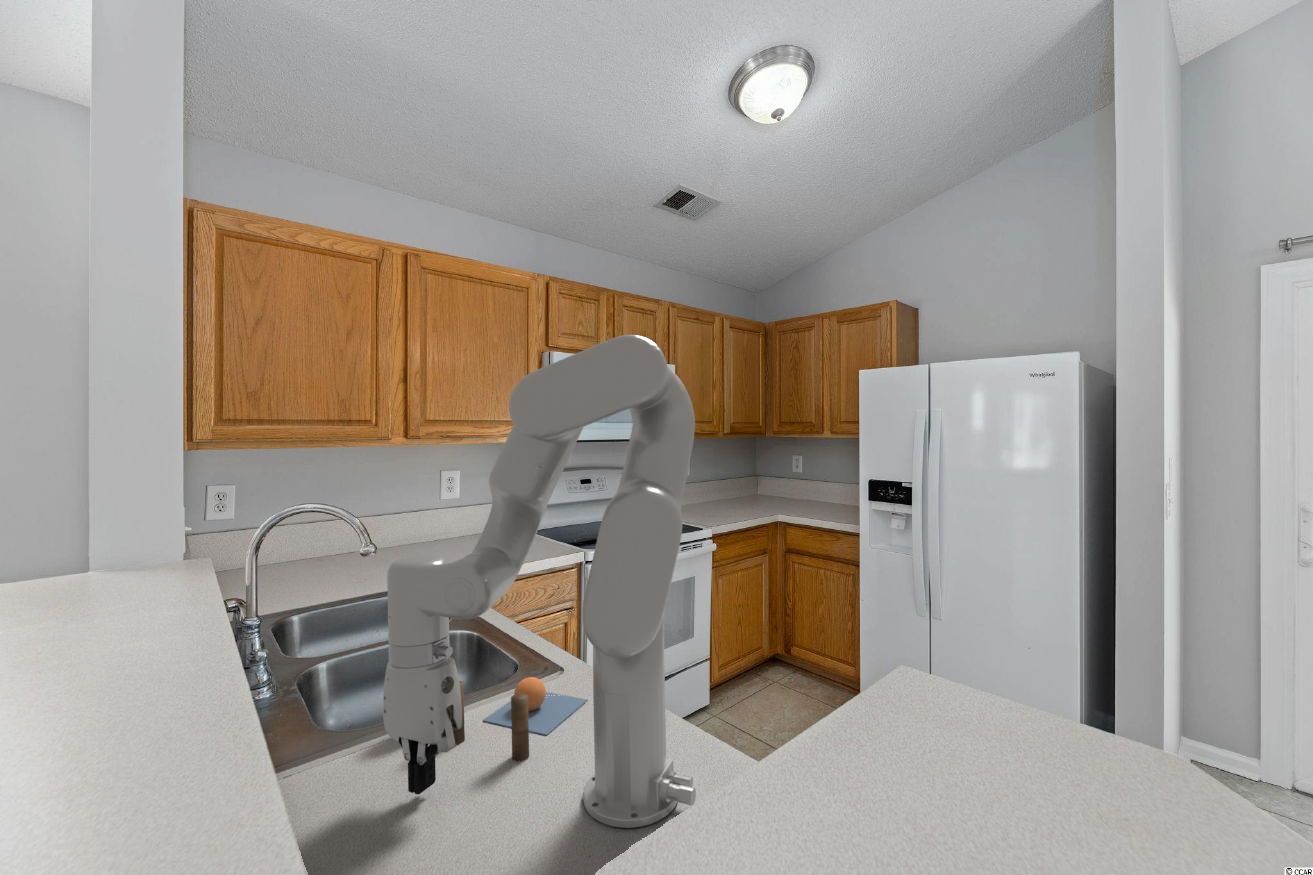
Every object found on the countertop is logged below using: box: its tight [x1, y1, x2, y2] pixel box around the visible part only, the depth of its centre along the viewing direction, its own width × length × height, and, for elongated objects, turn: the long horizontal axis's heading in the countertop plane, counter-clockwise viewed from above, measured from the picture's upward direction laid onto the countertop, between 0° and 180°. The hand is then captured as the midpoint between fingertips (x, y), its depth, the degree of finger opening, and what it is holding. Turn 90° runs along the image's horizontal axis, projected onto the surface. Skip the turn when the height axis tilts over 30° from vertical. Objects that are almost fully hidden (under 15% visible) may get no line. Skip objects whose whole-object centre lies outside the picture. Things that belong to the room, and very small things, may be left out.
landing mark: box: [482, 691, 589, 736], centre depth 99 cm, size 13×13×1 cm
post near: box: [510, 693, 530, 763], centre depth 85 cm, size 2×2×9 cm
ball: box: [513, 676, 547, 711], centre depth 99 cm, size 6×6×6 cm
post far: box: [453, 680, 466, 746], centre depth 89 cm, size 2×2×9 cm
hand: (422, 787), depth 75 cm, fingers closed
